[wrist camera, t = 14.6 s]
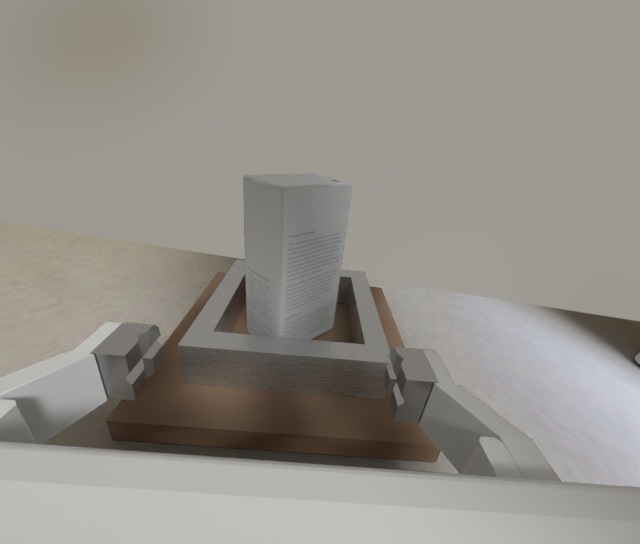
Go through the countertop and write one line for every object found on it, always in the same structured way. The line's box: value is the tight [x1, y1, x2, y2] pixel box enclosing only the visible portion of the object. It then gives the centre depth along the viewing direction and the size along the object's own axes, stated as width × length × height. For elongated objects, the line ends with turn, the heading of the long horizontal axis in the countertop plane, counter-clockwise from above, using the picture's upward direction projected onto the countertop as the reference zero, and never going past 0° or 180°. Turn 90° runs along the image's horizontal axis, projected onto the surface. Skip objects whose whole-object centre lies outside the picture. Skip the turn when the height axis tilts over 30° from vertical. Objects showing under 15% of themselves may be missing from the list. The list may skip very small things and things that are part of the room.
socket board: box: [107, 260, 440, 462], centre depth 23 cm, size 18×18×4 cm
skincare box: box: [243, 174, 352, 340], centre depth 21 cm, size 6×4×12 cm
